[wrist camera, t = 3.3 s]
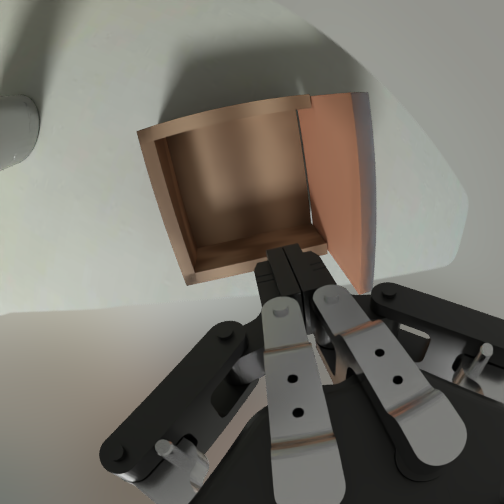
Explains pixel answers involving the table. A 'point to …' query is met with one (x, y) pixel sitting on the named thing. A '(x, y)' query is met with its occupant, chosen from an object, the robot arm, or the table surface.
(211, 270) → the box
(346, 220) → the panel
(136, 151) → the table surface
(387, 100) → the table surface
